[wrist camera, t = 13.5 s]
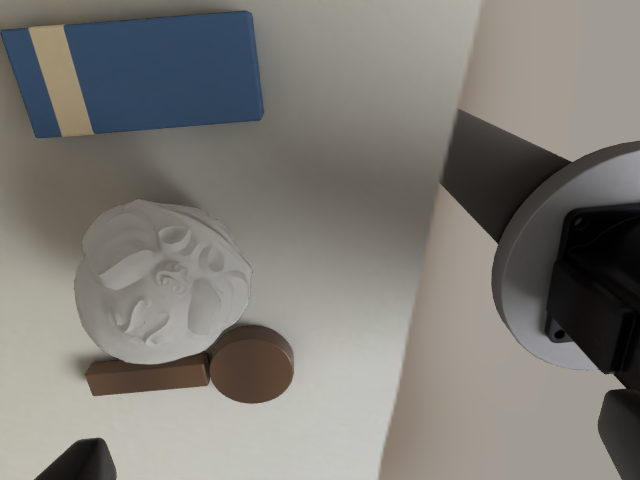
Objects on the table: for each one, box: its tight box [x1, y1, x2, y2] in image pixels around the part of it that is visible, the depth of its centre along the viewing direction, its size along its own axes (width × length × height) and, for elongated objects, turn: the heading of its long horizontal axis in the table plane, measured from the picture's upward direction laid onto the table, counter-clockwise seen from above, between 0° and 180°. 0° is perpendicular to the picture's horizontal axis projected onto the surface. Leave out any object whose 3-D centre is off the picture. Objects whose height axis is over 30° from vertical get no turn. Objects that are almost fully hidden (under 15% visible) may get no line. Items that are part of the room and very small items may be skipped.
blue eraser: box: [0, 11, 264, 138], centre depth 16 cm, size 8×4×2 cm, turn 94°
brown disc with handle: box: [85, 326, 294, 404], centre depth 22 cm, size 10×4×1 cm, turn 94°
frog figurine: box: [74, 199, 253, 364], centre depth 16 cm, size 6×7×7 cm
